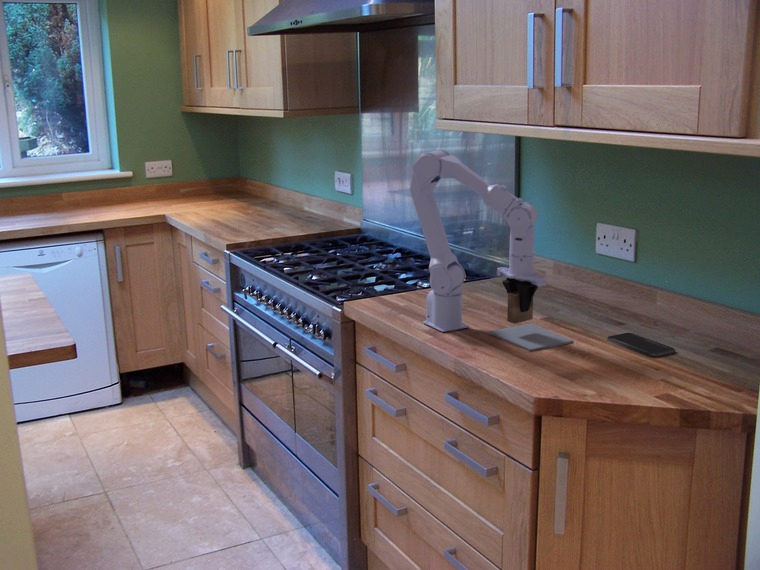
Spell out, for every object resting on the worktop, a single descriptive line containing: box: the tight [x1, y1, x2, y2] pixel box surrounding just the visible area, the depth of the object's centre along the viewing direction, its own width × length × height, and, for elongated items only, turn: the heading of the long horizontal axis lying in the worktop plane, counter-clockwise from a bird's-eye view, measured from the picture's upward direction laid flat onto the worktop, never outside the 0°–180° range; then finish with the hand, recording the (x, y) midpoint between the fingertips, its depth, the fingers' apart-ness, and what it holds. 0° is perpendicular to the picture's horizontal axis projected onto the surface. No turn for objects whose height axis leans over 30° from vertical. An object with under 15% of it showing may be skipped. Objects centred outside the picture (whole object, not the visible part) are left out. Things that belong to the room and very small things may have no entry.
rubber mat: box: [487, 323, 574, 352], centre depth 198 cm, size 16×13×1 cm
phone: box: [607, 332, 676, 359], centre depth 191 cm, size 8×1×15 cm
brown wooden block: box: [506, 291, 534, 325], centre depth 199 cm, size 3×6×7 cm, turn 125°
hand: (519, 309), depth 199 cm, fingers closed on brown wooden block, 2 cm apart
